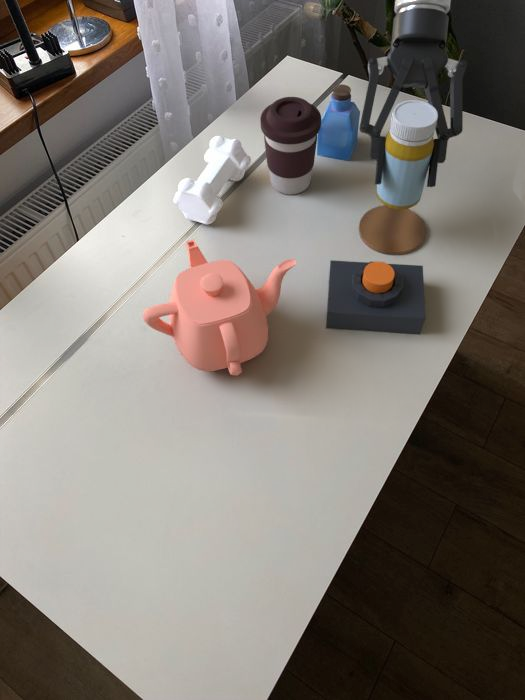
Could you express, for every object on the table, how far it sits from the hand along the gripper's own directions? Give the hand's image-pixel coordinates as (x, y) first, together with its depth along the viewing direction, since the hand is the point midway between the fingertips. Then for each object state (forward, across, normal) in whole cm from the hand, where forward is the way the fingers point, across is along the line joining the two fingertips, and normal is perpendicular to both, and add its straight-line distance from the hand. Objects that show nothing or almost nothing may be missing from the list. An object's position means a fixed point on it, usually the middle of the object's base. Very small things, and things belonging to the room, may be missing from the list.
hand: (404, 184), depth 89 cm
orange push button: (+14, +3, +4) cm, 15 cm away
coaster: (+7, 0, -12) cm, 13 cm away
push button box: (+18, +3, 0) cm, 18 cm away
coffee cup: (-1, +18, -20) cm, 27 cm away
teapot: (+23, +25, +4) cm, 34 cm away
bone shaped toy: (+3, +31, -16) cm, 35 cm away
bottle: (+2, 0, -6) cm, 7 cm away
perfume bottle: (-8, +10, -27) cm, 30 cm away
